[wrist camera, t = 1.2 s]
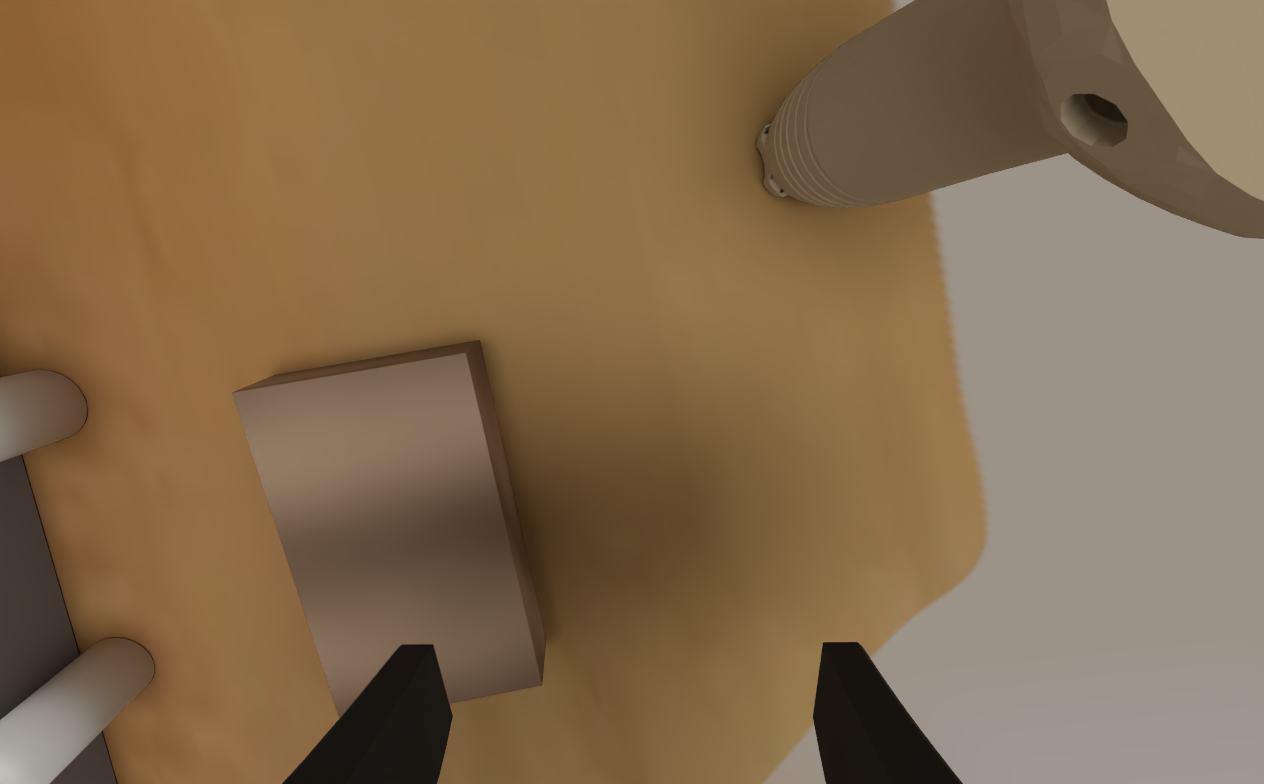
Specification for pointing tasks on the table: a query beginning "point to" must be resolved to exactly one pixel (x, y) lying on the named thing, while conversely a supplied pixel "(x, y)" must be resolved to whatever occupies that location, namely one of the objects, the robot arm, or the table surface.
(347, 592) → the brown rectangular block
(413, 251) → the table surface
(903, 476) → the table surface
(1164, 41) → the handle
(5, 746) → the bench dog bar
